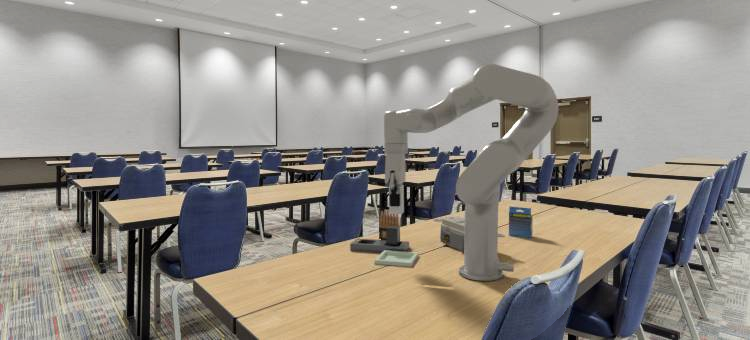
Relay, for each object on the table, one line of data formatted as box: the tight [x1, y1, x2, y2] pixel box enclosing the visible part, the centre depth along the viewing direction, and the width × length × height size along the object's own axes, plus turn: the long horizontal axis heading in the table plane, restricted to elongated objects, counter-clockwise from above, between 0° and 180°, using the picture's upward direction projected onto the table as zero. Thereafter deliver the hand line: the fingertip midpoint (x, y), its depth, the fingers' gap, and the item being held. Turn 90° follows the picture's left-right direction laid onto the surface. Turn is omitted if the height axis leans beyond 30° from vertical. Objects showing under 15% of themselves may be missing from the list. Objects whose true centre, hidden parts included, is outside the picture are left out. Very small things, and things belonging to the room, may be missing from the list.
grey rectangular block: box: [388, 183, 405, 215], centre depth 133 cm, size 4×4×10 cm
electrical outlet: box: [433, 215, 506, 252], centre depth 149 cm, size 12×28×10 cm, turn 33°
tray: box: [373, 250, 419, 268], centre depth 134 cm, size 12×12×2 cm
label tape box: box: [508, 206, 533, 239], centre depth 167 cm, size 9×4×12 cm, turn 58°
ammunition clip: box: [378, 210, 400, 240], centre depth 161 cm, size 11×2×12 cm, turn 40°
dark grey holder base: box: [349, 225, 410, 254], centre depth 151 cm, size 20×15×9 cm
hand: (396, 204), depth 133 cm, fingers closed on grey rectangular block, 4 cm apart
